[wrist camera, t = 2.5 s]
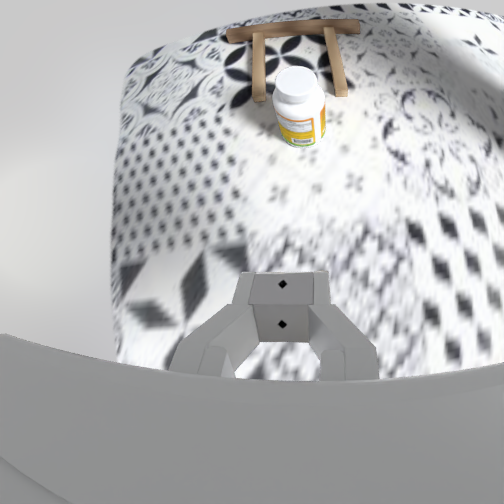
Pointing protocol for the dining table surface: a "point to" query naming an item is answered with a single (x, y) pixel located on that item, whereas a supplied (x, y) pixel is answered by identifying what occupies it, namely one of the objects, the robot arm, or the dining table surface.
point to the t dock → (292, 29)
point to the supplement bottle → (299, 106)
